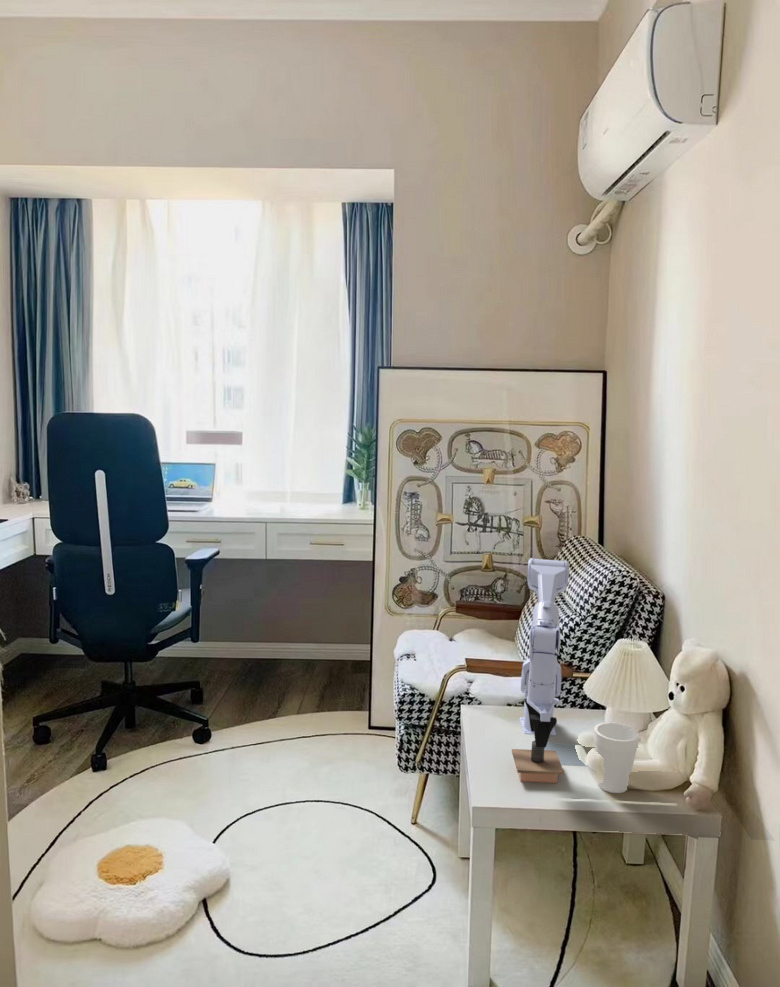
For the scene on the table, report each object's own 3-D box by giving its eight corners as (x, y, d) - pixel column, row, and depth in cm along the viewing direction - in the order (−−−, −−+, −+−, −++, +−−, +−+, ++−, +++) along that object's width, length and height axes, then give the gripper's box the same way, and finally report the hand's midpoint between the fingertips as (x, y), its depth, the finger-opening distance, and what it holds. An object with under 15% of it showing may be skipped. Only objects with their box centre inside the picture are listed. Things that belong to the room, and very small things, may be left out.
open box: (515, 765, 188) (516, 753, 187) (550, 767, 188) (551, 755, 187) (520, 783, 180) (521, 770, 179) (556, 785, 180) (557, 772, 179)
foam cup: (639, 784, 181) (644, 729, 179) (628, 803, 173) (633, 745, 171) (596, 772, 186) (601, 718, 184) (584, 790, 178) (588, 733, 176)
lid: (511, 751, 188) (512, 732, 187) (555, 753, 188) (556, 734, 187) (517, 772, 178) (518, 752, 178) (563, 774, 178) (565, 754, 177)
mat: (536, 744, 199) (537, 742, 199) (582, 746, 199) (582, 744, 199) (543, 766, 188) (544, 764, 188) (592, 768, 188) (592, 766, 188)
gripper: (566, 694, 173) (562, 754, 175) (554, 668, 187) (551, 725, 189) (532, 692, 173) (528, 753, 175) (523, 667, 187) (520, 723, 190)
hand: (538, 738), depth 182 cm, fingers open, 7 cm apart
